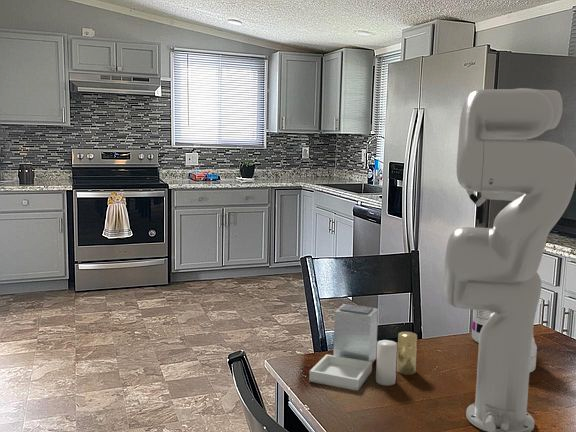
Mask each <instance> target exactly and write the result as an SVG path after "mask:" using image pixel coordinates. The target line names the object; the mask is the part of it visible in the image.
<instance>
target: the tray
mask: <svg viewBox="0 0 576 432" xmlns="http://www.w3.org/2000/svg"><path fill="white" fill-rule="evenodd" d="M372 369H373V363H372V362H369V361H363V360H357V359H351V358H345V357H340V356H334V355H332V354H327V353H326V354H325V355H324V356H323V357H321V359H320V360H319V361H318V362H317V363H316V364H315V365H314V366H313V367H312V368H311V369H310V370H309V373H308V374H309V375H308V377H309V378H308V380H309V381H308V382H309V383H315V384H320V385H324V386H325V385H326V386H330V387H335V388H340V389H347V390H351V391H357V392H358V391H359V390H360V389H361V388H362V386H363V385H364V383H365V382H366V381H367V379H368V378H369V376H370V375H371V373H372V372H373V371H372Z"/></svg>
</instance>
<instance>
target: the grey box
mask: <svg viewBox="0 0 576 432" xmlns="http://www.w3.org/2000/svg"><path fill="white" fill-rule="evenodd" d="M378 317H379V308H378V307H377V308H376V307H371V306H365V305H364V306H363V305H357V304H350V303H349V304H348V303H343V304H342V305H340V306H339V307H337V309H335V310H334V320H333V321H334V322H333V323H334V324H333V328H334V329H333V355H334V356H340V357H345V358H351V359H357V360H363V361H369V362H372V364H373V363H375V361H377V342H378V319H379V318H378Z"/></svg>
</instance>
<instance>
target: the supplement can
mask: <svg viewBox="0 0 576 432" xmlns="http://www.w3.org/2000/svg"><path fill="white" fill-rule="evenodd" d="M492 313H494V312H489V311H481V310H472V325H471V338H472V339H473V340H474V342H475V343H478V344H479V335H480V331H481V328H482V327H483V325H484V324H485V322H486V321H487V320H488V319H489V318H490V315H491V314H492Z"/></svg>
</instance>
